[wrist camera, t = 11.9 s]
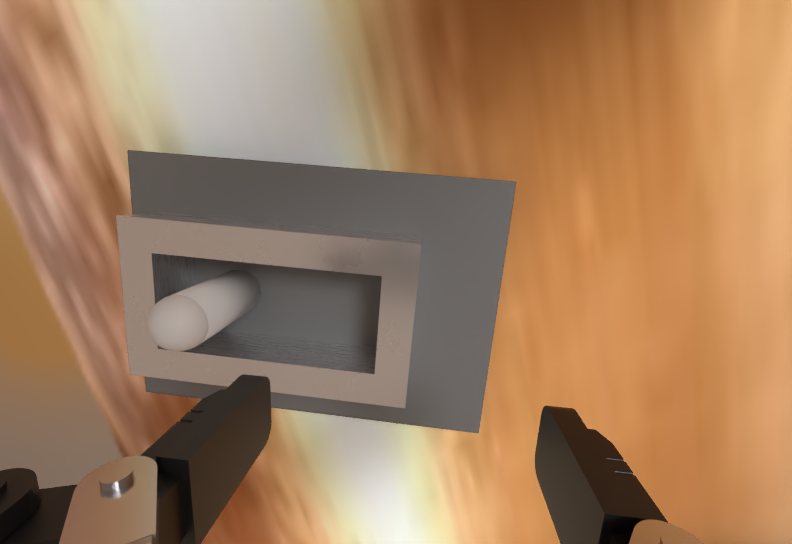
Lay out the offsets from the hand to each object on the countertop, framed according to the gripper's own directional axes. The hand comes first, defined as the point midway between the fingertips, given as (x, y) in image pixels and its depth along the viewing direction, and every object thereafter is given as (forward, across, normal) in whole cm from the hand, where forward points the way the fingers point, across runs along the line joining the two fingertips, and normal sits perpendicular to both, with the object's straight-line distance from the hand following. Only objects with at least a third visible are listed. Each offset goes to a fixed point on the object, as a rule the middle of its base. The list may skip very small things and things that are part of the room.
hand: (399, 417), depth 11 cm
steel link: (+9, +7, 0) cm, 12 cm away
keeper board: (+11, +6, 0) cm, 12 cm away
